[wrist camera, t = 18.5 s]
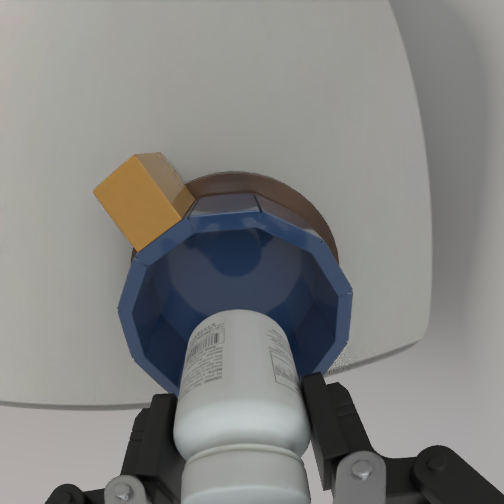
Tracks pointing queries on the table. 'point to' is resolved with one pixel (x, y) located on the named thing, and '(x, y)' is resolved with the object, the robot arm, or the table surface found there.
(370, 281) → the table surface
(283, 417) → the pill bottle
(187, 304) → the serving bowl
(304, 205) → the turntable
